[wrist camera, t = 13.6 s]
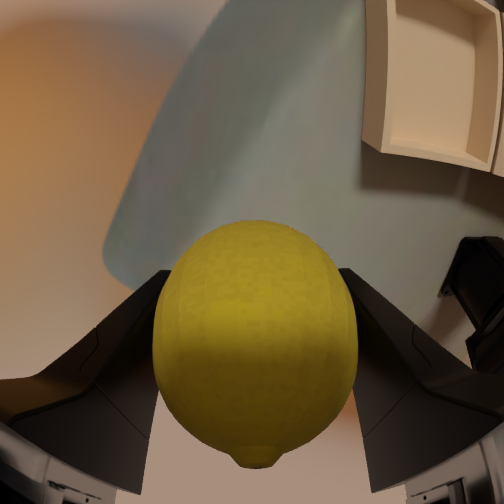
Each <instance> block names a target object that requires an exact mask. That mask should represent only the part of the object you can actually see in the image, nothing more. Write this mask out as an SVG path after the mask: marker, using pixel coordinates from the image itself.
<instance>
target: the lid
mask: <svg viewBox="0 0 504 504" xmlns="http://www.w3.org/2000/svg"><path fill="white" fill-rule="evenodd" d="M500 18H501V28H502V42H503V87H502V102H501V112H500V121H499V128H498V135H497V141H496V147H495V152H494V157H493V162H492V166H491V171H490V172H491V173H493V174H495V175H498V176H502V177H504V13H503V12H501V13H500Z"/></svg>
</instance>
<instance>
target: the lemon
mask: <svg viewBox="0 0 504 504" xmlns="http://www.w3.org/2000/svg"><path fill="white" fill-rule="evenodd" d="M152 352H153V367H154V374H155V378H156V382H157V386H158V388H159V391H160V393H161V395H162V397H163V400H164V401H165V403H166V406H167V407H168V409H169V411H170V412H171V413H172V415H173V416H174V418H175V419H176V420H177V421H178V422H179V423H180V424H181V425H182V426H183V427H184V428H185V429H186V430H187V431H188V432H189V433H190V434H192V435H193V436H194V437H196V438H197V439H198V440H200V441H201V442H202V443H204V444H206V445H208V446H210V447H212V448H214V449H216V450H219V451H221V452H224V453H227V454H229V455H230V456H231V457H232V458H233V459H234V461H235V462H236V463H237V464H238V465H239V466H240V467H243V468H250V469H261V468H268V467H272V466H273V465H274V464H275V463H276V461H277V460H278V459H279V458H280V457H281V456H282V455H283V454H284V453H287V452H289V451H292V450H294V449H296V448H298V447H300V446H302V445H304V444H306V443H308V442H310V441H311V440H312V439H314V438H315V437H316V436H317V435H319V434H320V433H321V432H322V431H324V430H325V429H326V428H327V427H328V426H329V425H330V423H332V421H333V420H334V419H335V418H336V417H337V415H338V414H339V413H340V411H341V410H342V408H343V407H344V405H345V403H346V401H347V398H348V396H349V394H350V392H351V389H352V387H353V384H354V381H355V376H356V372H357V364H358V336H357V324H356V315H355V310H354V305H353V301H352V298H351V295H350V292H349V290H348V288H347V285H346V284H345V282H344V280H343V278H342V276H341V275H340V273H339V271H338V269H337V267H336V266H335V264H334V262H333V261H332V259H331V258H330V257H329V255H328V254H327V253H326V252H325V251H324V250H322V249H321V248H320V247H319V246H318V245H317V244H316V243H315V242H314V241H313V240H311V239H310V238H309V237H308V236H306V235H305V234H303V233H301V232H299V231H297V230H295V229H293V228H291V227H289V226H287V225H283V224H279V223H274V222H270V221H265V220H262V221H240V222H236V223H232V224H227V225H223V226H221V227H219V228H217V229H215V230H213V231H211V232H210V233H208V234H206V235H204V236H202V237H201V238H200V239H198V240H197V241H196V242H195V243H194V244H193V245H192V246H191V247H190V248H189V249H188V250H187V251H186V252H185V253H184V254H183V255H182V256H181V257H180V258H179V260H178V261H177V263H176V264H175V266H174V268H173V270H172V271H171V273H170V275H169V277H168V279H167V281H166V283H165V285H164V286H163V288H162V291H161V294H160V296H159V299H158V303H157V307H156V312H155V318H154V330H153V345H152Z"/></svg>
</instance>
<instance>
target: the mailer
mask: <svg viewBox="0 0 504 504" xmlns="http://www.w3.org/2000/svg"><path fill="white" fill-rule="evenodd" d="M365 7H366V82H365V101H364V115H363V127H362V138H361V140H363V141H364V142H366V143H367V144H369V145H370V146H372V147H373V148H375V149H376V150H378V151H379V152H381V153H389V154H397V155H404V156H411V157H418V158H424V159H430V160H435V161H441V162H446V163H451V164H456V165H461V166H466V167H470V168H474V169H479V170H483V171H487V172H490V169H491V165H492V160H493V155H494V150H495V145H496V139H497V132H498V125H499V118H500V109H501V97H502V79H503V49H502V32H501V21H500V13H499V10H497V9H496V8H494V7H493V6H491V5H490V4H488V3H487V2H485V1H484V0H365Z"/></svg>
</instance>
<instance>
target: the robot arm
mask: <svg viewBox="0 0 504 504" xmlns="http://www.w3.org/2000/svg"><path fill="white" fill-rule="evenodd" d="M338 271H339V273H340V275H341V276H342V278H343V280H344V282H345V284H346V285H347V288H348V290H349V292H350V295H351V298H352V301H353V305H354V310H355V315H356V324H357V336H358V364H357V372H356V376H355V381H354V384H353V387H352V388H353V393H354V397H355V402H356V407H357V412H358V417H359V421H360V427H361V432H362V437H363V438H364V439H363V443H364V449H365V454H366V461H367V467H368V473H369V480H370V487H371V492H372V493H375V492H379V491H382V490H386V489H390V488H393V487H396V486H399V485H403V484H405V489H406V495H407V499H406V504H504V240H503V239H502V238H499V237H493V236H483V237H465V238H464V239H463V240H462V242H461V245H460V247H459V250H458V252H457V255H456V257H455V260H454V262H453V265H452V267H451V269H450V272H449V274H448V276H447V279H446V281H445V283H444V285H443V287H442V289H441V293H442V295H443V296H451V295H455V297H456V298H457V300H458V301H459V303H460V304H461V306H462V308H463V309H464V311H465V312H466V314H467V316H468V317H469V319H470V321H471V322H472V324H473V326H474V328H475V329H476V331H475V332H474V333H473V334H472V335H471V336H470V337H468V338H467V339H466V341H465V342H466V346H467V350H468V354H469V358H470V361H471V365H472V369H471V368H470V367H468V366H467V365H465V364H464V363H463V362H462V361H460V360H459V359H458V358H456V357H455V356H454V355H453V354H451V353H450V352H449V351H447V350H446V349H445V348H443V347H442V346H441V345H440V344H438V343H437V342H436V341H434V340H433V339H432V338H431V337H430V336H428V335H427V334H426V333H425V332H424V331H423V330H421V329H420V328H419V327H418V326H417V325H416V324H415V325H414V323H413V322H412V321H411V320H410V319H409V318H408V317H407V316H405V315H404V314H403V313H402V312H401V311H400V310H399V309H397V308H396V307H395V306H394V305H393V304H392V303H390V302H389V301H388V300H387V299H386V298H384V297H383V296H382V295H381V294H380V293H379V292H377V291H376V290H375V289H374V288H373V287H371V286H370V285H369V284H368V283H367V282H365V281H364V280H363V279H362V278H361V277H359V276H358V275H357V274H356V273H354V272H353V271H352V270H351V269H349V268H339V269H338ZM170 273H171V270H160V271H159V272H157V273H156V274H155V275H154V276H153V277H151V278H150V279H149V280H148V281H147V282H146V283H144V284H143V285H142V286H141V287H140V288H139V289H137V290H136V291H135V292H134V293H133V294H132V295H131V296H129V297H128V298H127V299H126V300H125V301H124V302H123V303H121V304H120V305H119V306H118V307H117V308H116V309H115V310H113V311H112V312H111V313H110V314H109V315H108V316H107V317H106V318H105V319H103V320H102V321H101V322H100V323H99V324H98V325H97V326H96V328H93V329H92V330H91V331H90V332H89V333H88V334H87V335H86V336H84V338H82V339H81V340H80V341H79V342H78V343H76V344H75V345H74V346H73V347H71V348H70V349H69V350H68V351H67V352H65V353H64V354H63V355H61V356H60V357H59V358H58V359H57V360H55V361H54V362H52V363H51V364H50V365H49V366H47V367H46V368H45V369H44V370H42V371H41V372H39V373H38V374H36V375H33V376H30V377H25V378H16V379H2V380H0V504H115V497H116V491H117V489H119V490H122V491H126V492H130V493H134V494H138V495H141V490H142V483H143V476H144V469H145V463H146V456H147V451H148V444H149V441H148V440H149V438H150V433H151V426H152V422H153V416H154V411H155V406H156V401H157V396H158V391H159V388H158V386H157V382H156V378H155V374H154V367H153V352H152V345H153V330H154V318H155V312H156V307H157V303H158V299H159V296H160V294H161V291H162V288H163V286H164V285H165V283H166V281H167V279H168V277H169V275H170Z"/></svg>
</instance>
